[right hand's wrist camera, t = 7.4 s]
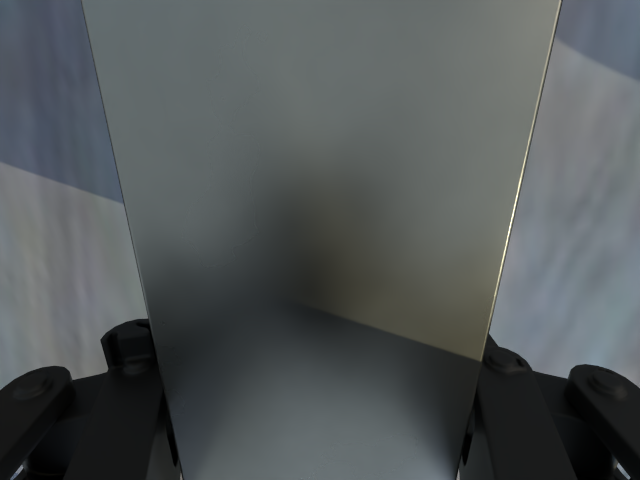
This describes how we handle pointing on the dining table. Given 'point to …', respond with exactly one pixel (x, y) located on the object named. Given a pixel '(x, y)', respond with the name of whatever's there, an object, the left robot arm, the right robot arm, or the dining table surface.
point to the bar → (320, 217)
